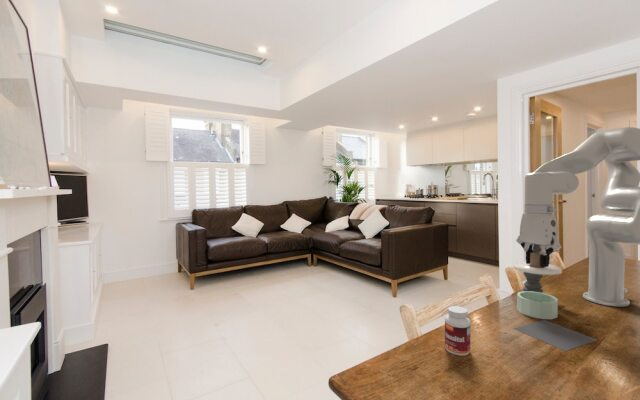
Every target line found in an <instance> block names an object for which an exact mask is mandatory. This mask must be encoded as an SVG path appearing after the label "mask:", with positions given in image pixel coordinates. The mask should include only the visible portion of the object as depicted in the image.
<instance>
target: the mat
mask: <svg viewBox="0 0 640 400" xmlns="http://www.w3.org/2000/svg"><path fill="white" fill-rule="evenodd" d="M513 329H514V330H516V331H518V332H521V333H523V334H526V335H528V336H530V337H532V338H534V339H537V340H539V341H542V342H543V343H545V344H548V345H550V346H552V347H555V348H557V349H559V350H561V351H564V352H568V351H570V350H572V349H577V348H579V347H582V346H584V345H585V346H586V345H588V344H591V343H593V342H597V341H598V339H596V338H594V337H592V336H589V335H586V334H583V333H581V332H578V331H575V330H572V329H570V328H567V327H564V326H561V325H559V324H556V323H554V322H551V321H548V320H547V319H541V320H540V321H535V322H532V323H529V324H525V325H521V326H518V327H517V326H516V327H514V328H513Z"/></svg>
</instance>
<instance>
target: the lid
mask: <svg viewBox="0 0 640 400" xmlns="http://www.w3.org/2000/svg"><path fill="white" fill-rule="evenodd" d="M541 255H542V252H540V253H539V252H530V264H526V261H518V262H514V263H513V268H514V269H515V270H517V271H520V272H527V273H532V274H540V275H543V276H556V275H557V276H558V275H561V274H562V273H563V269H562V268H561V267H560V266H557V265H553V264H550V263H549V266H548V267H541V266H540V256H541Z"/></svg>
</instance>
